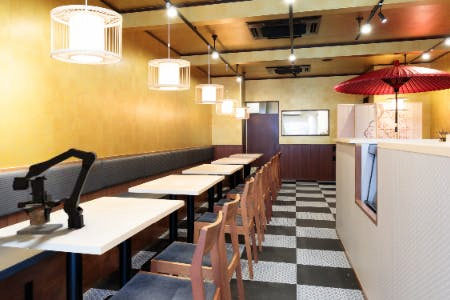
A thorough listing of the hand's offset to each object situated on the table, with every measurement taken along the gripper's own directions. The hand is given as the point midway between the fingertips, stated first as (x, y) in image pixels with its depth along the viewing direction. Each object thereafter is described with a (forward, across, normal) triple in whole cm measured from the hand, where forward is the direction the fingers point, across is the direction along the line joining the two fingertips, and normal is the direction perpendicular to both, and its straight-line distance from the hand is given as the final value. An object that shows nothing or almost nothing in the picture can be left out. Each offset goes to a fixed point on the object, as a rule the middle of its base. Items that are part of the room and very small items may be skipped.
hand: (40, 221), depth 166 cm
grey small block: (+3, 0, 0) cm, 3 cm away
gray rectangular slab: (+4, 0, 0) cm, 5 cm away
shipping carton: (+1, 0, 0) cm, 1 cm away
